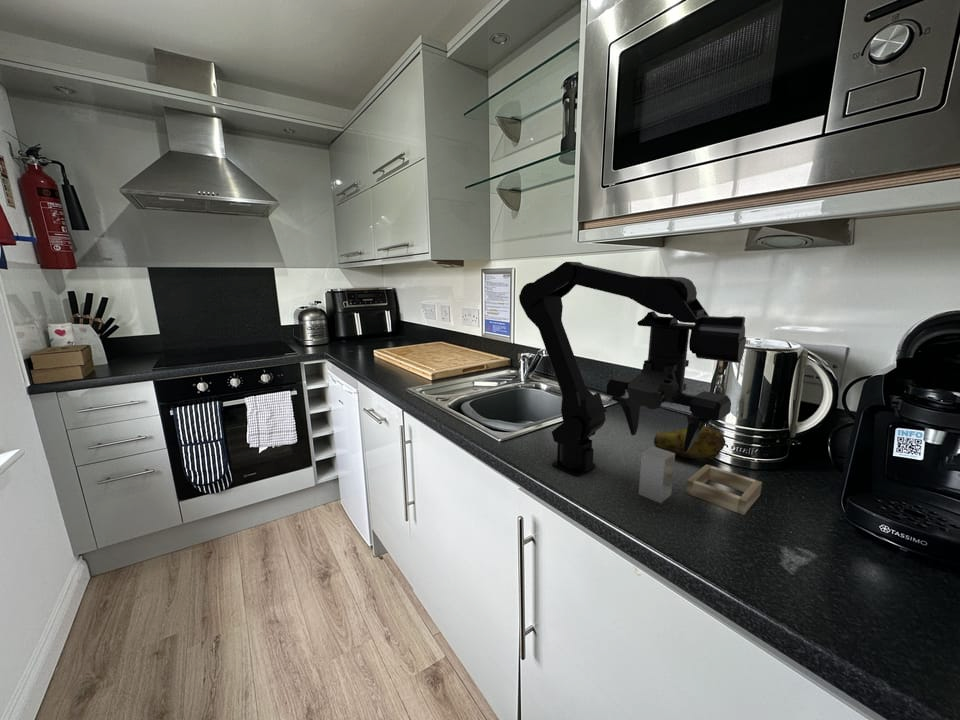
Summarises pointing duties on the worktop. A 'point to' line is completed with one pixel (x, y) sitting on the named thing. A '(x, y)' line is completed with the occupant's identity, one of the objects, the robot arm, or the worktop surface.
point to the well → (722, 497)
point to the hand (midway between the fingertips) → (658, 442)
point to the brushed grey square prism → (656, 474)
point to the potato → (703, 446)
